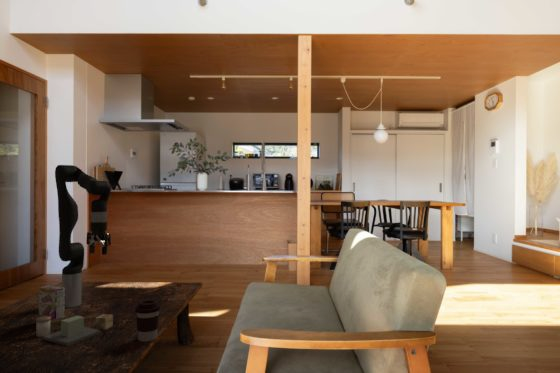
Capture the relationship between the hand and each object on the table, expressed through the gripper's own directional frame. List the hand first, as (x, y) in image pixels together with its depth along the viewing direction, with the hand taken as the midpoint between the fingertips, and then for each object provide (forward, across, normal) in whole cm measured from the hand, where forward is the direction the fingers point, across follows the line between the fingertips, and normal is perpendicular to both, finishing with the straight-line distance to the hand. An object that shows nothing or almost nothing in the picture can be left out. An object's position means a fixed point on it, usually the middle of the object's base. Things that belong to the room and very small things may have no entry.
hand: (98, 253), depth 181 cm
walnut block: (+30, 0, -20) cm, 36 cm away
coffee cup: (+30, +44, -12) cm, 55 cm away
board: (+30, +14, -23) cm, 40 cm away
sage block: (+29, +14, -23) cm, 39 cm away
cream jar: (+30, +1, -27) cm, 40 cm away
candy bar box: (+30, -9, -17) cm, 36 cm away
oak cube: (+30, +17, -10) cm, 36 cm away
